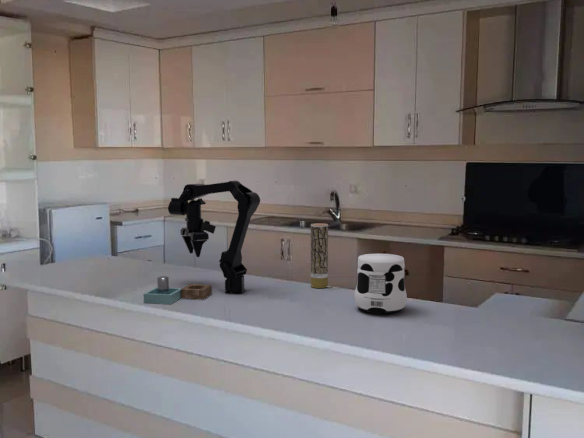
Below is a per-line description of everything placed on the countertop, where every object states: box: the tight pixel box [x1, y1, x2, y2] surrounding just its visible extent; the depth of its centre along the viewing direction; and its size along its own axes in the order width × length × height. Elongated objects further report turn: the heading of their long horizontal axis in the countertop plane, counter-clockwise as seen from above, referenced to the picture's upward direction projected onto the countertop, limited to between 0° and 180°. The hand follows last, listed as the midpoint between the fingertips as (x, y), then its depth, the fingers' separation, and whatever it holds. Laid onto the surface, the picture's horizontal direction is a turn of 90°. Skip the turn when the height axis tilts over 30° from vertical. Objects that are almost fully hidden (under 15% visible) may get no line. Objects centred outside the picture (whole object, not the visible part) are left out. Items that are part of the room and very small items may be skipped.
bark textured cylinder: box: [310, 222, 329, 289], centre depth 224 cm, size 7×7×25 cm
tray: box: [143, 286, 182, 305], centre depth 205 cm, size 10×10×3 cm
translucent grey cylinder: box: [156, 275, 170, 295], centre depth 205 cm, size 4×4×8 cm
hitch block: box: [181, 283, 213, 300], centre depth 210 cm, size 9×9×4 cm
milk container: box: [354, 253, 408, 314], centre depth 190 cm, size 17×17×18 cm
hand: (194, 255), depth 223 cm, fingers open, 9 cm apart
